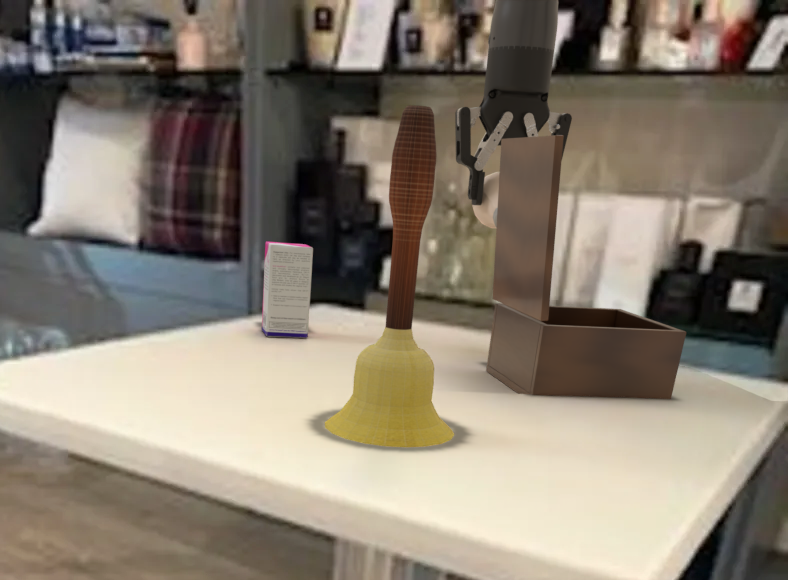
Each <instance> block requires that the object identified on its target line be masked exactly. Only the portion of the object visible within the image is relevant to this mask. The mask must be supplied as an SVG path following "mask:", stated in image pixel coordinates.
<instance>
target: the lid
mask: <svg viewBox="0 0 788 580" xmlns="http://www.w3.org/2000/svg"><path fill="white" fill-rule="evenodd" d="M563 137H564V136H563V135H553V136H551V135H538V137H523V138H508V139H501V146H500V154H499V155H500V156H499V172H500V173H499V191H498V210H497V228H496V229H495V230H496V231H495V246H494V247H495V248H494V267H493V268H494V269H493V283H492V284H493V285H492V300H494V301H496V302H497V303H502V304H505V305H507V306H509V307H511V308H513V309H516V310H518V311H520V312H522V313H524V314H527V315H529V316H531V317H533V318H535V319H538V320H540V321H548V316H549V306H550V303H551V290H552V280H553V279H552V278H553V269H554V268H553V266H554V255H555V243H556V231H557V221H558V220H557V219H558V209H559V208H558V206H559V195H560V184H561V183H560V182H561V171H562V161H563V157H562V149H563ZM561 160H562V161H561Z"/></svg>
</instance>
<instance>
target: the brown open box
mask: <svg viewBox="0 0 788 580" xmlns="http://www.w3.org/2000/svg"><path fill="white" fill-rule="evenodd" d="M686 335H687V331H685V330H683V329H679V328H676V327H674V326H671V325H668V324H665V323H662V322H659V321H657V320H653V319H652V318H651V319H650V318H647V317H645V316H643V315H639V314H636V313H633V312H630V311H627V310H624V309H622V308H610V307H609V308H607V307H605V308H604V307H585V306H565V305H549V316H548V321H540V320H538V319H535V318H533V317H531V316H529V315H527V314H524V313H522V312H520V311H518V310H516V309H513V308H511V307H509V306H507V305H505V304H502V303H500V302H495V303H494V311H493V317H492V324H491V334H490V338H489V339H490V340H489V347H488V354H487V361H486V370H485V371H486V372H487V373H488V374H490V375H492V376H493V377H494V378H495V379H497V380H498V381H500V382H501V383H503V384H504V385H505V386H507V387H508V388H510V389H511V390H512V391H514V392H515V393H517V394H520V395H532V396H553V397H554V396H556V397H559V396H560V397H590V398H592V397H593V398H621V399H622V398H626V399H627V398H628V399H659V400H662V399H663V400H671V399H672V397H673V391H674V389H675V384H676V379H677V376H678V375H677V374H678V370H679V367H680V362H681V357H682V353H683V348H684V345H685V341H686V337H687V336H686Z"/></svg>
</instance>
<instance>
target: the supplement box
mask: <svg viewBox="0 0 788 580" xmlns="http://www.w3.org/2000/svg"><path fill="white" fill-rule="evenodd" d="M264 248H265V249H264V263H263V264H264V265H263V270H264V271H263V290H262V292H263V293H262V312H261V313H262V314H261V315H262V316H261V331H262V332H263V334H264V336H265V337H268V338H296V339H307V338H308V336H309V324H310V323H309V321H310V309H311V308H310V304H311V292H312V291H311V290H312V275H313V274H312V273H313V258H314V257H313V255H314V248H313V246H310V245H308V244H305V243H304V244H303V243H291V242H279V241H278V242H277V241H267V240H266V241H265V245H264Z"/></svg>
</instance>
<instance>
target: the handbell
mask: <svg viewBox="0 0 788 580" xmlns="http://www.w3.org/2000/svg"><path fill="white" fill-rule="evenodd" d="M435 125H436V124H435V113H434V110H433V108H432V107H431V106H426V105H414V104H413V105H411V104H410V105H409V104H408V105H407V106H405V108H403V111H402V113H401V118H400V121H399V125H398V130H397V134H396V137H395V141H394V145H393V150H392V154H391V165H390V176H389V189H388V203H389V209H390V215H391V220H392V247H391V257H390V268H389V269H390V270H389V282H388V293H387V305H386V315H385V316H386V317H385V326H384V330H383V332H382V335H381V337H379V339H377V341H376V342H375V343H374V344H370V345H368V346H367V347H365V348H364V349H363V350H361V352H360V353H358V355H357V358H356V360H355V361H356V362H355V367H354V368H355V369H354V375H353V386H352V388H353V389H352V394H351V396H350V398H349V399H348V401H346V403H345V404H344V406H343V407H341V409H340V410H339V411H337V412H336V413H334V414H333V415H331V417H329V418H328V419H327V420H326V421H324V428H325V429H326V430H327V431H328V432H329V433H331V434H333V435H334V436H337V437H339V438H341V439H342V438H343V439H344V440H348V441H352V442H356V443H361V444H366V445H371V446H379V447H380V446H381V447H389V448H424V447H425V448H427V447H431V446H437V445H442V444H444V443H448V442H449V441H452V439H453V438H454V436H455V432H454V431H453V429H452V428H451V427H450V426H449V425H448V424H447V423H446V422H445V421H444V420H443V419H442V418H441V417H440V415H439V413H438V412H437V410H436V408H435V406H434V403H433V393H434V385H435V384H434V383H435V381H434V380H435V364H434V361H433V359H432V358H431V355H430V354H429V353H428V352H427V351H426V350H425V349H423V348H421V347H419V346H418V344H417V343H416V340H415V339H414V334H413V320H414V319H413V317H414V310H415V298H416V289H417V278H418V267H419V257H420V249H421V239H422V233H423V230H424V229H423V228H424V224H425V221H426V219H427V217H428V215H429V210H430V209H431V206H432V202H433V198H434V197H433V196H434V190H435V189H434V188H435V178H436V167H437V166H436V165H437V142H436V127H435Z"/></svg>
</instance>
